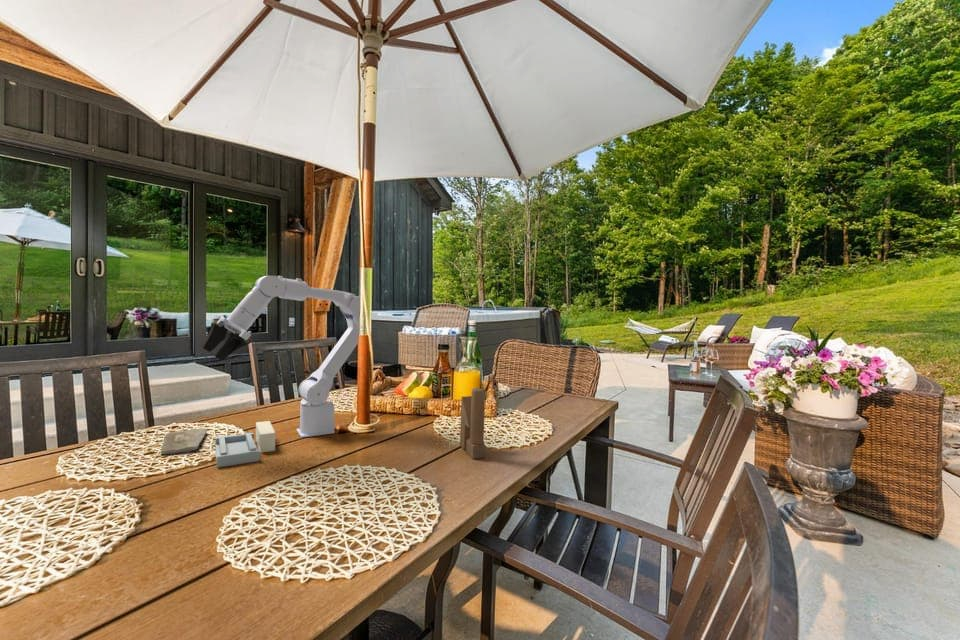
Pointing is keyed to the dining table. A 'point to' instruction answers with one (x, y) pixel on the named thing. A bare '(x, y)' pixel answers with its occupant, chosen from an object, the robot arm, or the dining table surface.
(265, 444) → the clay bar
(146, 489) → the dining table surface
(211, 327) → the robot arm
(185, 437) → the stone
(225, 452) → the tray
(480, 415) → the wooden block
